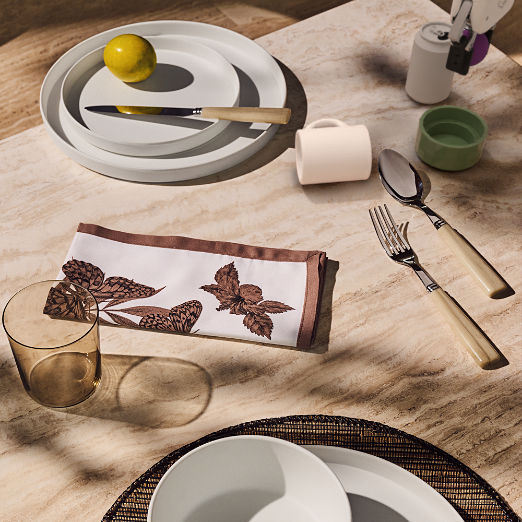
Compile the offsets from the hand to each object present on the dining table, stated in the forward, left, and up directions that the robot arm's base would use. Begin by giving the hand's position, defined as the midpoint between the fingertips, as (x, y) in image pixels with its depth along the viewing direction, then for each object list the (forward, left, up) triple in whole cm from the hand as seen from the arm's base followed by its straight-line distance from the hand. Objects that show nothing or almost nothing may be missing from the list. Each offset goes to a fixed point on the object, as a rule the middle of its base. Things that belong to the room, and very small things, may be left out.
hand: (466, 61), depth 95 cm
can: (-1, -14, -16) cm, 21 cm away
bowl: (0, +1, -16) cm, 16 cm away
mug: (+19, +2, -16) cm, 25 cm away
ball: (0, 0, +2) cm, 2 cm away
